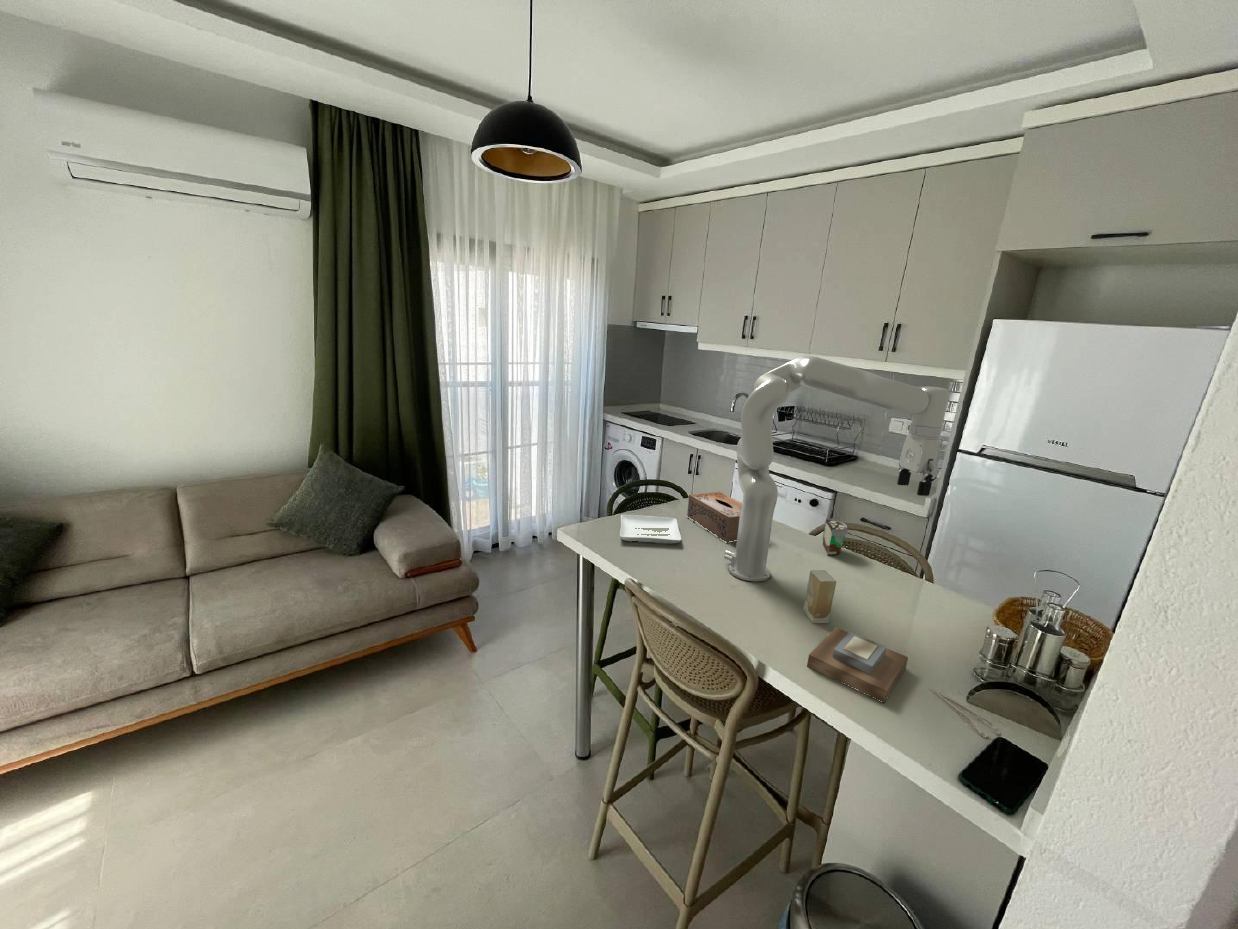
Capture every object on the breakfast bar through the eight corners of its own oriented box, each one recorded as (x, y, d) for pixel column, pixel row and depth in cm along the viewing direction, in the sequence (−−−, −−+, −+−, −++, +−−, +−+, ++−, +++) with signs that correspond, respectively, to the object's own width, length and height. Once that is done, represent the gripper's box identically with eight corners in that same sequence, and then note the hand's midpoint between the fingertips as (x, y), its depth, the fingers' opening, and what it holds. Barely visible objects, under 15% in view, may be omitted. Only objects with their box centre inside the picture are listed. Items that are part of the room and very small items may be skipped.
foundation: (806, 666, 113) (810, 646, 111) (833, 637, 124) (837, 619, 123) (884, 703, 102) (888, 681, 101) (905, 668, 114) (910, 648, 112)
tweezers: (1001, 736, 96) (1003, 727, 95) (983, 742, 94) (985, 732, 94) (922, 682, 112) (923, 674, 112) (905, 686, 111) (906, 677, 110)
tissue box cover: (686, 518, 200) (689, 494, 198) (717, 515, 206) (719, 491, 204) (726, 544, 178) (729, 517, 175) (758, 539, 184) (762, 513, 181)
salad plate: (681, 548, 172) (682, 539, 171) (619, 545, 172) (619, 535, 171) (675, 525, 193) (676, 517, 192) (619, 522, 193) (620, 514, 192)
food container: (847, 560, 169) (852, 532, 167) (828, 557, 170) (833, 529, 168) (839, 545, 181) (844, 519, 179) (821, 543, 182) (826, 517, 180)
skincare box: (802, 610, 136) (809, 569, 133) (817, 610, 136) (824, 569, 133) (813, 624, 130) (820, 580, 126) (829, 624, 130) (837, 581, 127)
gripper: (894, 425, 150) (883, 480, 154) (931, 437, 133) (917, 499, 137) (919, 426, 150) (907, 482, 154) (958, 438, 133) (944, 500, 137)
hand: (912, 490), depth 146 cm, fingers open, 9 cm apart
